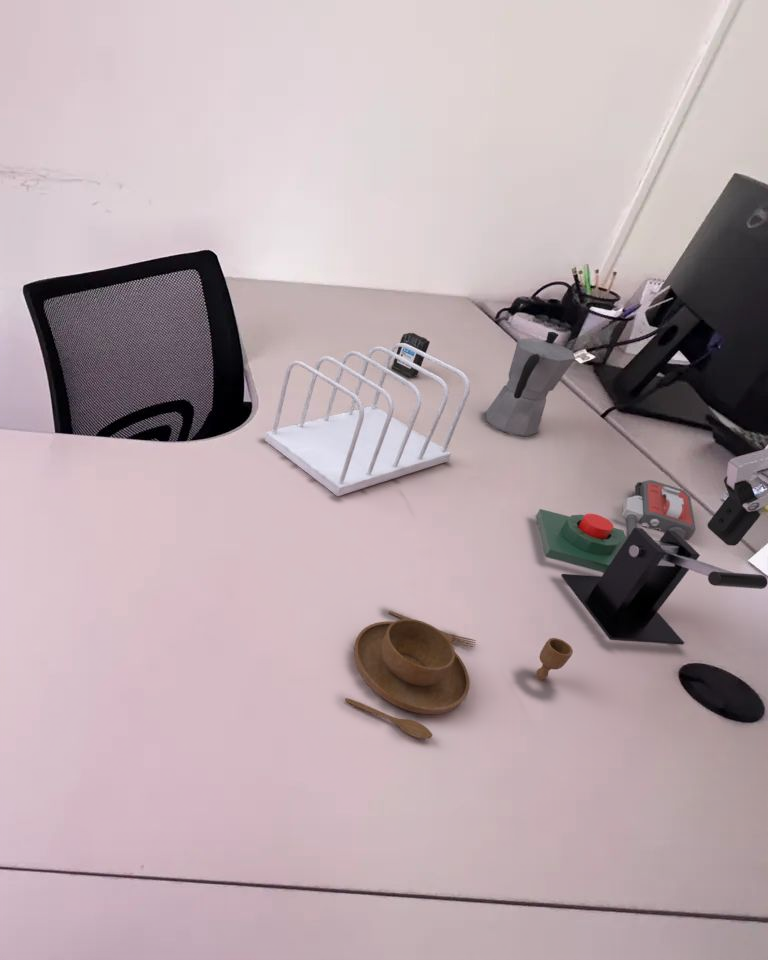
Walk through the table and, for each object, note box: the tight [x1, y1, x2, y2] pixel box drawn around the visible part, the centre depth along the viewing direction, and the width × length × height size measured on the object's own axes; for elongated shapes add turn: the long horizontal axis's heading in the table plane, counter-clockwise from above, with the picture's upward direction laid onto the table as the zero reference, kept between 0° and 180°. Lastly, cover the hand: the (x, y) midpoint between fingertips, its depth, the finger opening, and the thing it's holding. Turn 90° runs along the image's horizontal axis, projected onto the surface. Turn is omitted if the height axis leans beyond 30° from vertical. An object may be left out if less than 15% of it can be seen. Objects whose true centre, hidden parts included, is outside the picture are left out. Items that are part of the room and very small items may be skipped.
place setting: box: [344, 610, 574, 740], centre depth 70 cm, size 18×20×6 cm
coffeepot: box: [485, 331, 576, 437], centre depth 119 cm, size 15×9×18 cm, turn 137°
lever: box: [653, 539, 768, 590], centre depth 74 cm, size 12×5×2 cm, turn 0°
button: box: [578, 513, 614, 539], centre depth 92 cm, size 4×4×2 cm
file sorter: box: [264, 342, 471, 497], centre depth 107 cm, size 25×17×16 cm
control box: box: [535, 508, 628, 573], centre depth 93 cm, size 11×10×4 cm
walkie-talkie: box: [621, 479, 697, 541], centre depth 100 cm, size 9×4×20 cm
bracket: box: [560, 527, 701, 645], centre depth 81 cm, size 11×9×12 cm
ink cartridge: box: [391, 332, 431, 379], centre depth 137 cm, size 5×2×8 cm, turn 34°
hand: (767, 540), depth 66 cm, fingers open, 9 cm apart
